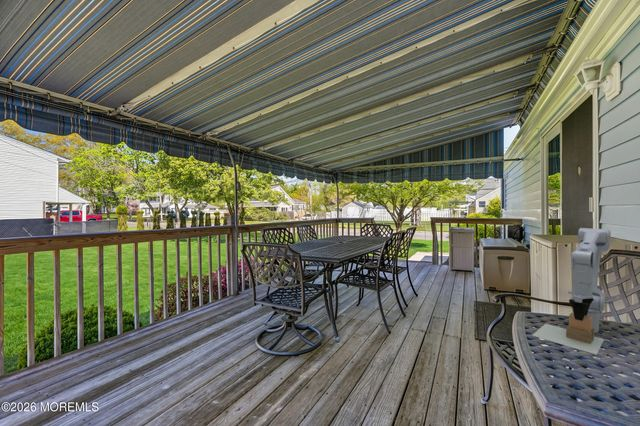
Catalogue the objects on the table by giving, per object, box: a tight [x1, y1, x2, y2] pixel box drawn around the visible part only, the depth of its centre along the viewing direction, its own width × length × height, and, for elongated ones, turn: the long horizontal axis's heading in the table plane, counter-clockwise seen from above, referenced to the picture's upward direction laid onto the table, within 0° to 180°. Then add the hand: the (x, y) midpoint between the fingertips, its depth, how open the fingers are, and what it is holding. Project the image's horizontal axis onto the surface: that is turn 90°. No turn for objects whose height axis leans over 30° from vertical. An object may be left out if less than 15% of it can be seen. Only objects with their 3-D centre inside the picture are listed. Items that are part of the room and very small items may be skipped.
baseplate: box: [531, 323, 605, 356], centre depth 110 cm, size 20×18×1 cm
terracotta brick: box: [568, 312, 593, 332], centre depth 109 cm, size 4×6×4 cm
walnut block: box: [565, 324, 595, 344], centre depth 109 cm, size 7×7×4 cm
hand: (580, 317), depth 109 cm, fingers open, 7 cm apart
